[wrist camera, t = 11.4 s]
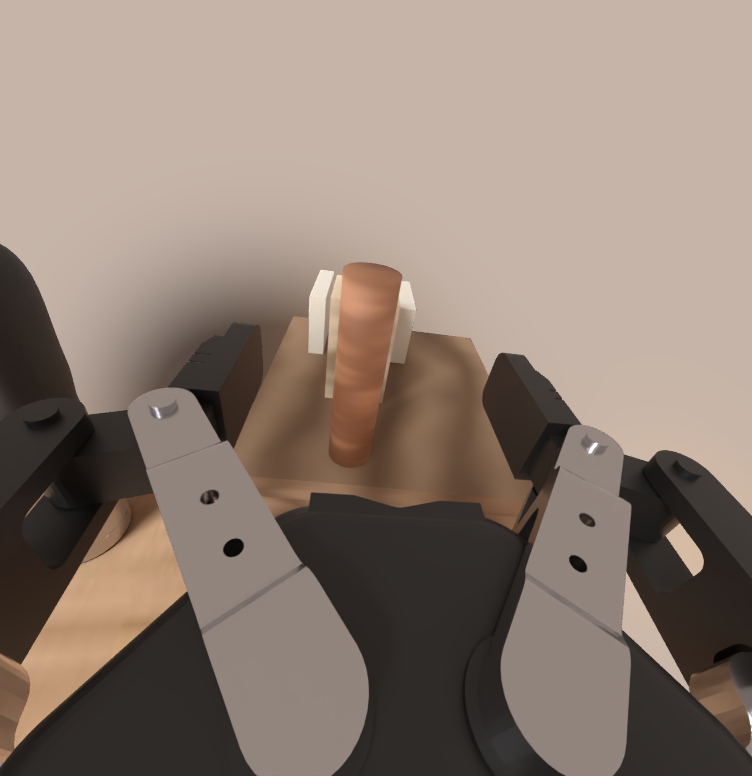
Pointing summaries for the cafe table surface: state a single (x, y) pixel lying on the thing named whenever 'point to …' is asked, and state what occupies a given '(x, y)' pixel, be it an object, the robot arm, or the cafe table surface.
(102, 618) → the cafe table surface
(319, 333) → the upright cream panels
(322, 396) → the open wooden cabinet
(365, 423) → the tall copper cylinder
